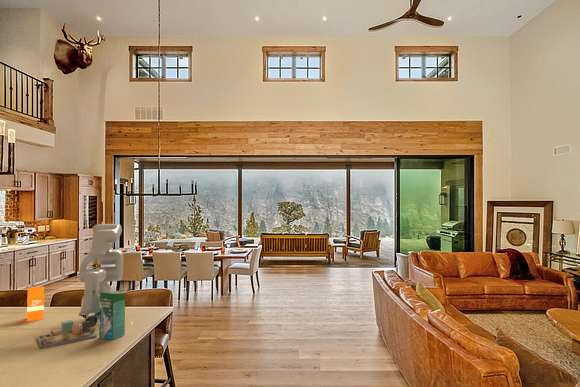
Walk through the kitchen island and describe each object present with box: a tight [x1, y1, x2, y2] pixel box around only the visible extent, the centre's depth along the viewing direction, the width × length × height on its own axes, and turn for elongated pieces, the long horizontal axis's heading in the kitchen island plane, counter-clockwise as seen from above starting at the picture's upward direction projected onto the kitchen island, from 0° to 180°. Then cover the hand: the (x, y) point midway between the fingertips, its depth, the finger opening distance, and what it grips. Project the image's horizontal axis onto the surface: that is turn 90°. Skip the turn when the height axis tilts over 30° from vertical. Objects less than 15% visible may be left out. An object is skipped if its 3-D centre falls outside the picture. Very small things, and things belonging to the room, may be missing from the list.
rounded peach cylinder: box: [72, 322, 82, 335], centre depth 201 cm, size 4×4×5 cm
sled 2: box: [42, 320, 91, 345], centre depth 199 cm, size 21×7×8 cm, turn 129°
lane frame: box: [36, 331, 98, 350], centre depth 202 cm, size 26×19×1 cm
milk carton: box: [98, 290, 126, 341], centre depth 205 cm, size 9×9×25 cm
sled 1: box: [50, 315, 96, 337], centre depth 208 cm, size 21×7×8 cm, turn 129°
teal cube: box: [60, 319, 74, 333], centre depth 206 cm, size 5×5×5 cm
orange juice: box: [26, 285, 45, 322], centre depth 237 cm, size 8×9×20 cm
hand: (91, 324), depth 214 cm, fingers closed on sled 1, 3 cm apart
